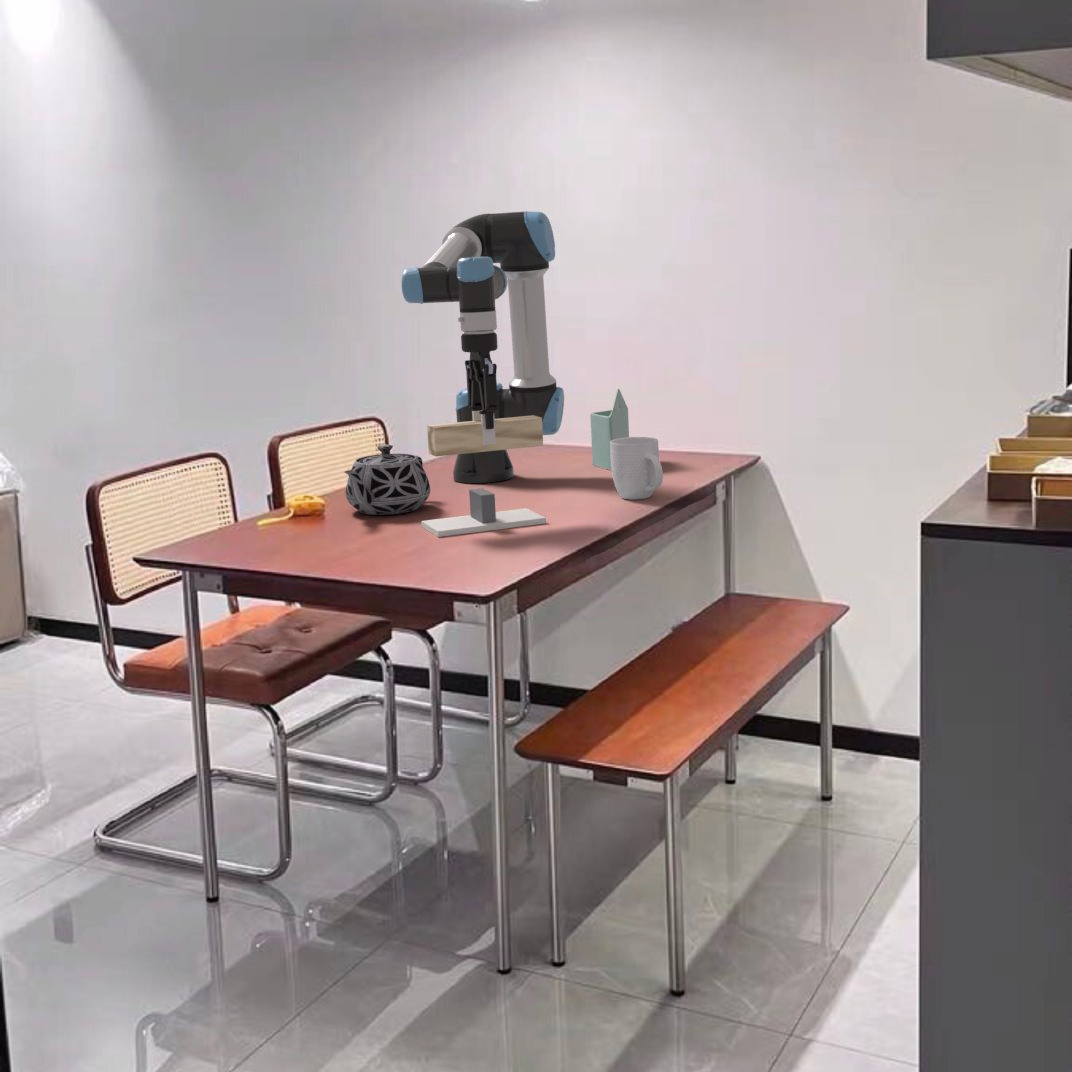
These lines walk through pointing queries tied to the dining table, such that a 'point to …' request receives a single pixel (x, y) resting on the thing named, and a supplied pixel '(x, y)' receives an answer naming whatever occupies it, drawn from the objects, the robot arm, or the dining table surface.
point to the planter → (608, 430)
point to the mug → (636, 466)
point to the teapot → (387, 483)
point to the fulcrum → (482, 517)
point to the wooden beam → (470, 436)
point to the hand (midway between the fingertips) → (484, 442)
